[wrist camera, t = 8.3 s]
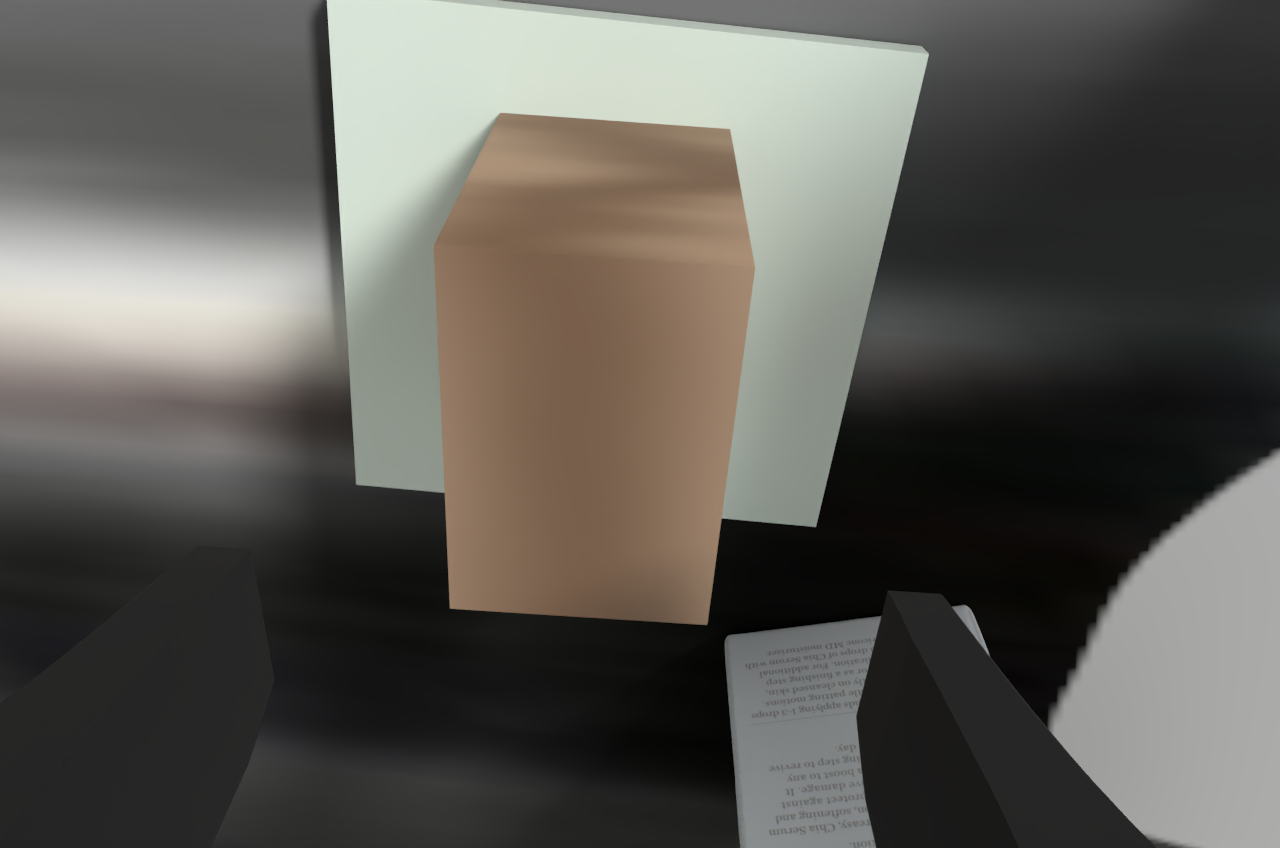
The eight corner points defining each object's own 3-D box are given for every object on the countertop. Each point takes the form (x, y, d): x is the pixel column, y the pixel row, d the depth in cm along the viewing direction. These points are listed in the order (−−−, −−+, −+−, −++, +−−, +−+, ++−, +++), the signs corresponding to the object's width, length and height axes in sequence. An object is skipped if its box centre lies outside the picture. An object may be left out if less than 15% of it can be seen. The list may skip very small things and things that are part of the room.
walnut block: (730, 129, 18) (754, 267, 13) (697, 421, 21) (707, 625, 16) (500, 112, 18) (434, 246, 13) (502, 407, 21) (449, 608, 16)
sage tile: (921, 45, 18) (929, 53, 17) (812, 510, 23) (815, 527, 22) (336, -17, 17) (326, -12, 17) (362, 468, 23) (356, 484, 22)
